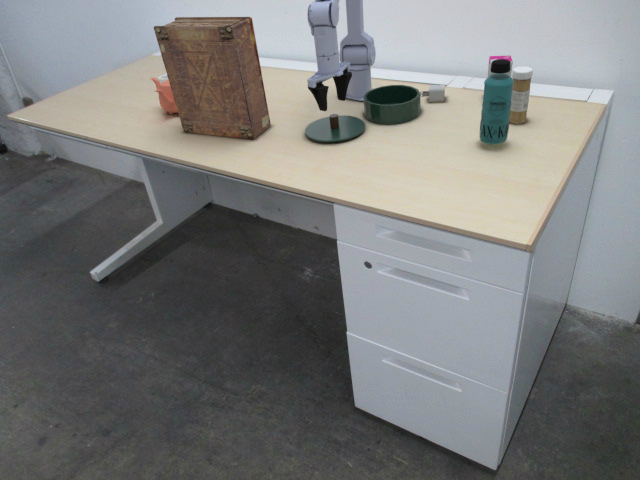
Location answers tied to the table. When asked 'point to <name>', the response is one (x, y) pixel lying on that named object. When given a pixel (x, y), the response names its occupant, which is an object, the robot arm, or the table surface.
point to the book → (215, 75)
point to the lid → (335, 128)
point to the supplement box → (496, 59)
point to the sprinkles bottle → (520, 94)
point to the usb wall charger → (435, 93)
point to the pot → (392, 104)
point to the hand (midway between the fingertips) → (332, 105)
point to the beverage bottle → (496, 104)
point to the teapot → (165, 96)
